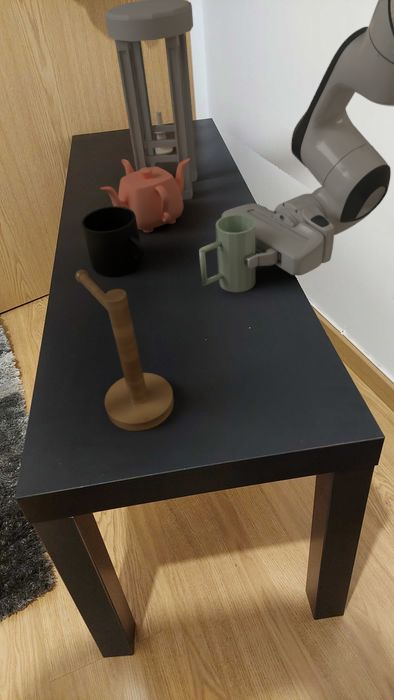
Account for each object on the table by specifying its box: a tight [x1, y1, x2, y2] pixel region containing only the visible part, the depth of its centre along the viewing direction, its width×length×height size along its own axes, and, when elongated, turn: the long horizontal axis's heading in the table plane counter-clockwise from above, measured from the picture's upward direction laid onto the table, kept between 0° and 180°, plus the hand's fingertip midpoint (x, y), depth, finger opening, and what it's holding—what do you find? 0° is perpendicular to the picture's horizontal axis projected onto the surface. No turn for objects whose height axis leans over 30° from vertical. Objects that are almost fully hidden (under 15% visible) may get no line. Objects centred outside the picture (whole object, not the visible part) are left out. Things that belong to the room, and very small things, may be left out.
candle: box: [153, 111, 174, 155], centre depth 130 cm, size 5×5×10 cm
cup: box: [198, 214, 257, 293], centre depth 83 cm, size 10×6×11 cm, turn 124°
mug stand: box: [74, 269, 175, 432], centre depth 64 cm, size 16×9×18 cm, turn 34°
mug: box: [81, 205, 145, 277], centre depth 91 cm, size 9×12×9 cm
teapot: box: [99, 158, 190, 234], centre depth 102 cm, size 14×14×11 cm
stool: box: [104, 0, 198, 201], centre depth 104 cm, size 16×16×35 cm
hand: (232, 253), depth 83 cm, fingers closed on cup, 6 cm apart
